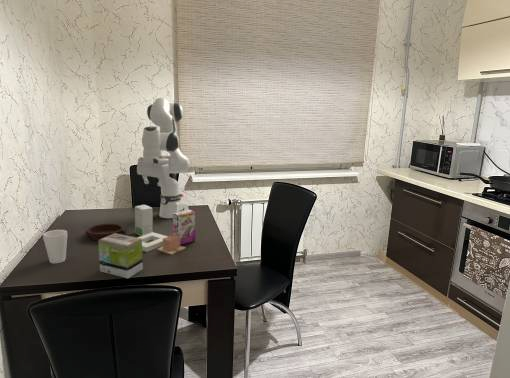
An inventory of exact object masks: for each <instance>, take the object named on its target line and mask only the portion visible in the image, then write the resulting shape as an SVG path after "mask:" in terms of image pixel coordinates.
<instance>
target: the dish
mask: <svg viewBox="0 0 510 378" xmlns="http://www.w3.org/2000/svg"><path fill="white" fill-rule="evenodd" d="M124 229H125V228H124V226H123V225H121V224H118V223H103V224H102V223H101V224H96V225H93V226H90V227H88V228H87V229H86V230H85V231H84V233H85V235H86V236H88V237H90V238H91V239H92V240H93V241H98V240H100V239H102V238H105V237H107V236H109V235H111V234H114V233H116V234H121V235H126V236H127V231H125V230H124Z"/></svg>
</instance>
